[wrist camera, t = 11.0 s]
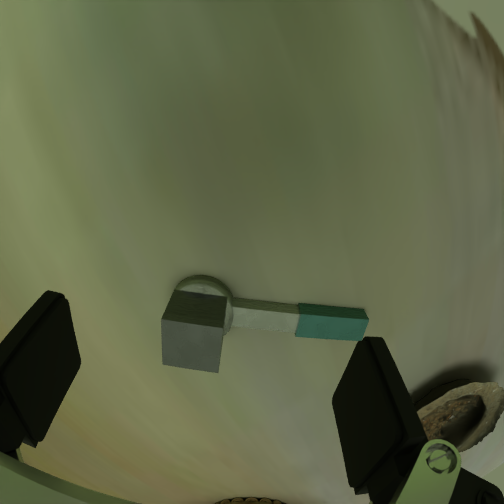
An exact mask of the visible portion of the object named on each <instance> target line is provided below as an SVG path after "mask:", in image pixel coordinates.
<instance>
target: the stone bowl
mask: <svg viewBox="0 0 504 504" xmlns="http://www.w3.org/2000/svg"><path fill="white" fill-rule="evenodd" d="M414 407H415V409H416V411H417V414H418V416H419V418H420V421H421V423H422V426H423V428H424V430H425V433H426V435H427V438H428V441H431V440H435V439H442V440H445V441H448V442H449V443H451V444H452V445H454V447H455V448H456V449H457V450H458V452H463V451H465V450H467V449H470V448H471V447H473V446H474V445H477V444H478V442H479V441H480V442H481V441H482V440H483V438H484V437H485V436H487V435H488V434H489V433H490V432H493V430H494V428H495V425H496V423H497V421H498V419H499V418H500V415H501V414H502V412H503V411H504V390H503V388H502V387H499V386H498V383H496V382H486V383H478V382H472V381H470V380H465V379H459V380H456V381H454V382H451V383H448V384H445V385H443V386H439V387H436V388H434V389H433V390H432V391H431V392H430V393H429V394H428V395H427V396H425V397H424V398H422V399H421V400H420V401H419V402H418V403H417V404H416V405H415V406H414ZM452 415H454V417H453V418H452V419H449V418H450V417H451V416H452ZM446 422H447V423H446Z"/></svg>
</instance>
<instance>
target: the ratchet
mask: <svg viewBox="0 0 504 504" xmlns="http://www.w3.org/2000/svg"><path fill="white" fill-rule="evenodd" d="M175 290H182V291H189V292H196V293H203V294H211V295H218V296H226V297H228V299H227V307H226V316H225V325H224V334H223V336H224V335H225V334H226V333H227V332H228V331H229V329H230V328H231V326H236V327H244V328H253V329H262V330H272V331H282V332H293V333H295V337H307V338H320V339H335V340H352V341H361V340H362V338H363V335H364V332H365V330H366V327H367V324H368V322H369V318H368V317H367V315H366V313H365V311H364V309H357V308H346V307H334V306H324V305H313V304H303V303H299V304H298V305H293V304H284V303H275V302H266V301H257V300H249V299H240V298H233V295H232V293H231V291H230V290H229V288H228V287H227V286H226V285H225V284H224V283H222V282H221V281H220V280H218V279H216V278H214V277H210V276H206V275H195V276H190V277H188V278H185V279H184V280H182V281H181V282H180V283H179V284H178V285H177V286H176V288H175Z"/></svg>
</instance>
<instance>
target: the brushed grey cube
mask: <svg viewBox="0 0 504 504" xmlns="http://www.w3.org/2000/svg"><path fill="white" fill-rule="evenodd" d="M227 299H228V297H226V296H218V295H211V294H203V293H196V292H189V291H182V290H175V289H174V292H173V294H172V296H171V298H170V301H169V303H168V305H167V307H166V310H165V312H164V314H163V316H162V319H161V330H162V361H163V365H169V366H175V367H181V368H187V369H193V370H200V371H207V372H215V373H218V372H219V364H220V357H221V349H222V342H223V334H224V325H225V316H226V307H227Z"/></svg>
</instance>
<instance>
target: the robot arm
mask: <svg viewBox="0 0 504 504" xmlns="http://www.w3.org/2000/svg"><path fill="white" fill-rule="evenodd" d="M80 365H81V358H80V354H79V349H78V345H77V341H76V336H75V332H74V327H73V322H72V317H71V312H70V306H69V302H68V300H67V299H65V296H64V295H63V294H62V293H58V292H54V291H49V290H48V291H46V292H45V293H44V294H43V295H42V296H41V297H40V298H39V299H38V300H37V301H36V302H35V303H34V305H33V306H32V307H31V308H30V309H29V310H28V311H27V312H26V314H25V315H24V316H23V317H22V318H21V319H20V320H19V322H18V323H17V324H16V325H15V326H14V328H13V329H12V330H11V331H10V332H9V333H8V335H7V336H6V337H5V338H4V340H3V341H2V342H1V343H0V504H140V503H136V502H132V501H128V500H124V499H121V498H117V497H113V496H110V495H106V494H103V493H100V492H97V491H93V490H90V489H87V488H84V487H81V486H79V485H76V484H73V483H70V482H68V481H65V480H62V479H60V478H57V477H55V476H52V475H50V474H48V473H45V472H43V471H41V470H38V469H36V468H34V467H31V466H29V465H27V464H25V463H24V461H23V458H22V454H21V451H20V445H21V443H22V442H23V443H25V444H27V445H30V446H32V447H34V448H36V446H37V444H38V442H41V441H42V440H43V439H44V437H45V435H46V433H47V431H48V429H49V427H50V425H51V423H52V421H53V419H54V417H55V415H56V413H57V411H58V409H59V407H60V405H61V403H62V401H63V399H64V397H65V395H66V393H67V391H68V389H69V387H70V385H71V383H72V382H73V380H74V378H75V376H76V374H77V372H78V370H79V368H80ZM332 405H333V410H334V414H335V419H336V424H337V428H338V433H339V438H340V443H341V447H342V452H343V457H344V462H345V467H346V472H347V477H348V483H349V485H350V487H354V491H355V495H359V494H366V493H369V497H370V502H369V504H504V497H503V494H502V492H501V491H500V489H499V488H498V487H497V486H495V485H494V484H492V483H489V482H488V481H486V480H484V479H482V478H480V477H478V476H476V475H474V474H472V473H471V472H469V471H467V470H465V469H463V468H461V456H460V454H459V452H458V450H457V449H456V448H455V447H454V445H452V444H451V443H449V442H448V441H445V440H442V439H435V440H431V441H428V438H427V435H426V433H425V430H424V428H423V426H422V423H421V421H420V418H419V416H418V414H417V411H416V409H415V407H414V404H413V402H412V400H411V397H410V395H409V393H408V391H407V388H406V386H405V384H404V382H403V379H402V377H401V375H400V373H399V371H398V368H397V366H396V364H395V362H394V360H393V358H392V356H391V353H390V351H389V349H388V347H387V345H386V343H385V341H384V339H383V338H382V337H368V336H366V337H364V338H363V340H362V341H358V342H357V344H356V347H355V349H354V351H353V354H352V356H351V358H350V360H349V363H348V365H347V367H346V369H345V371H344V373H343V376H342V378H341V380H340V382H339V384H338V386H337V388H336V390H335V392H334V395H333V398H332Z"/></svg>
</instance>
